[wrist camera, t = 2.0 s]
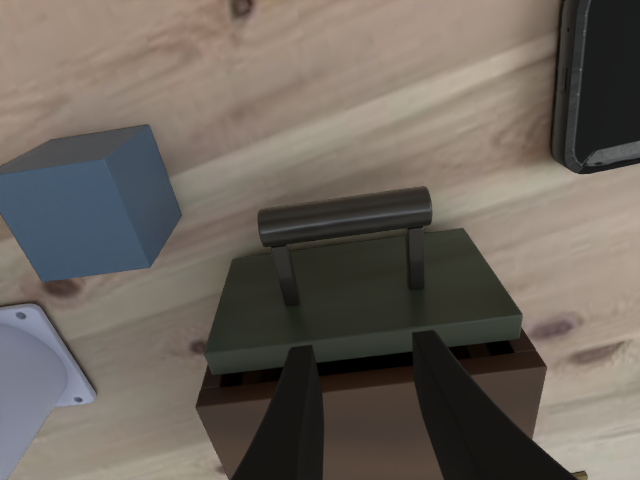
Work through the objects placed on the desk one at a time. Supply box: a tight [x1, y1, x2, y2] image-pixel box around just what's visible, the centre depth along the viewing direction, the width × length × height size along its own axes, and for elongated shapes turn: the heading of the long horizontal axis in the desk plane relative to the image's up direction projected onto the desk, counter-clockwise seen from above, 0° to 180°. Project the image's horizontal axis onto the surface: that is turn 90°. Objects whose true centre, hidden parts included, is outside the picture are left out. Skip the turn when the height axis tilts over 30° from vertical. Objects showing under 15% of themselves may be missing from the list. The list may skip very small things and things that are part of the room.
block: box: [0, 125, 182, 282], centre depth 17 cm, size 4×4×4 cm
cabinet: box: [196, 327, 547, 480], centre depth 21 cm, size 14×13×8 cm
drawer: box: [204, 186, 523, 385], centre depth 19 cm, size 17×11×6 cm
